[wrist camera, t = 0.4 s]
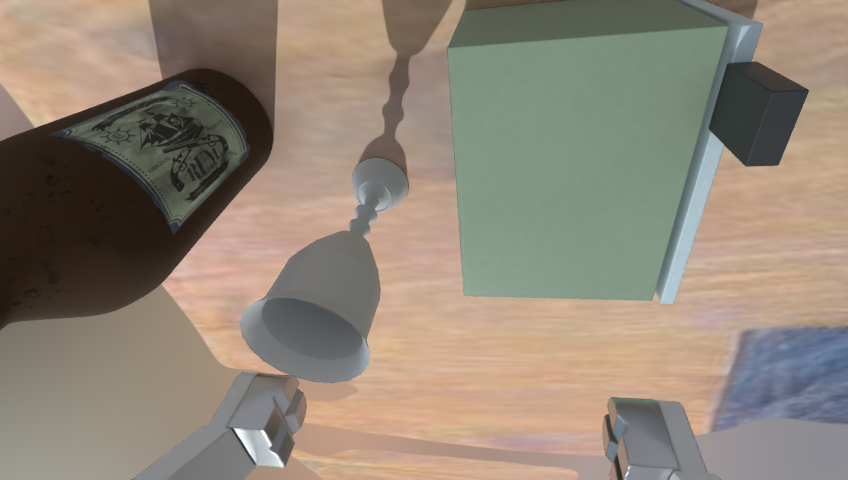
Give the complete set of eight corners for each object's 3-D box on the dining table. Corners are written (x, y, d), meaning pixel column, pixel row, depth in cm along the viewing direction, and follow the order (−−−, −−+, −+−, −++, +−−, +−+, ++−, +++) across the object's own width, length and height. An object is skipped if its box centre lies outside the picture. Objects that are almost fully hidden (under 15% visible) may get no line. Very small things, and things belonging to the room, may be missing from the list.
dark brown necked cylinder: (234, 199, 41) (-17, 458, 21) (137, 111, 37) (-288, 330, 17) (305, 138, 36) (64, 401, 16) (201, 29, 32) (-290, 202, 12)
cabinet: (657, -8, 27) (730, 24, 18) (616, 210, 36) (652, 301, 27) (463, 10, 29) (446, 47, 20) (472, 212, 38) (463, 296, 29)
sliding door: (683, -10, 26) (828, 44, 14) (636, 213, 35) (701, 355, 24) (662, -8, 26) (788, 47, 15) (620, 213, 36) (677, 354, 24)
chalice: (333, 200, 40) (236, 358, 25) (348, 135, 35) (243, 279, 21) (408, 227, 40) (355, 396, 26) (431, 165, 36) (383, 326, 22)
